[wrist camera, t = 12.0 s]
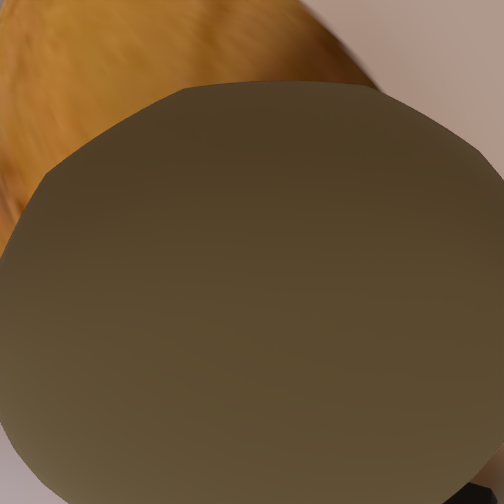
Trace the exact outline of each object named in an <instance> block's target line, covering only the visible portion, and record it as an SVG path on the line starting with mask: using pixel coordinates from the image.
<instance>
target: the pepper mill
mask: <svg viewBox="0 0 504 504" xmlns="http://www.w3.org/2000/svg"><path fill="white" fill-rule="evenodd" d="M0 422H1V425H2V426H3V429H4V431H5V432H6V434H7V436H8V438H9V440H10V442H11V444H12V446H13V448H14V449H15V450H16V452H17V453H18V455H19V456H20V457H21V458H22V460H23V461H24V462H25V463H26V465H27V466H28V467H29V468H30V469H31V471H32V472H33V473H34V474H35V475H36V476H37V478H38V479H39V480H40V481H41V482H42V483H43V484H44V485H46V486H47V487H48V488H49V489H50V490H52V491H53V492H54V493H55V494H57V495H58V496H59V497H61V498H62V499H63V500H65V501H66V502H67V503H69V504H442V503H444V502H445V501H446V500H448V499H449V498H450V497H451V496H453V495H454V494H455V493H456V492H457V491H459V490H460V489H461V488H462V487H463V486H464V485H466V484H467V483H468V482H469V481H470V480H471V479H472V478H473V477H474V476H475V475H476V474H477V473H478V472H479V471H480V469H481V468H482V467H483V466H484V465H485V464H486V463H487V462H488V461H489V459H490V458H491V457H492V456H493V455H494V453H495V452H496V451H497V449H498V448H499V447H500V446H501V445H502V443H503V442H504V180H503V179H502V178H501V176H500V175H499V174H498V173H497V172H496V170H495V169H494V168H493V167H492V165H491V164H490V163H489V162H488V161H487V160H486V158H485V157H484V156H483V155H482V154H481V153H480V152H479V151H478V150H477V149H476V148H474V147H473V146H471V145H470V144H469V143H467V142H466V141H464V140H463V139H462V138H460V137H459V136H457V135H455V134H454V133H453V132H451V131H450V130H448V129H447V128H445V127H443V126H442V125H440V124H439V123H437V122H435V121H434V120H432V119H430V118H429V117H427V116H425V115H424V114H422V113H420V112H418V111H417V110H415V109H413V108H411V107H409V106H407V105H405V104H404V103H402V102H400V101H398V100H396V99H394V98H392V97H390V96H388V95H386V94H384V93H382V92H380V91H377V90H375V89H373V88H371V87H369V86H366V85H357V84H347V83H335V82H318V81H256V82H239V83H226V84H216V85H207V86H199V87H192V88H185V89H182V90H180V91H178V92H176V93H174V94H171V95H169V96H167V97H165V98H163V99H161V100H159V101H157V102H155V103H154V104H152V105H150V106H148V107H146V108H144V109H142V110H140V111H139V112H137V113H135V114H133V115H131V116H130V117H128V118H126V119H125V120H123V121H121V122H120V123H118V124H116V125H115V126H113V127H111V128H110V129H108V130H107V131H105V132H103V133H102V134H100V135H99V136H97V137H96V138H94V139H93V140H91V141H90V142H88V143H87V144H85V145H84V146H82V147H81V148H80V149H78V150H77V151H75V152H74V153H73V154H71V155H70V156H69V157H67V158H66V159H64V160H63V161H62V162H61V163H59V164H58V165H57V166H55V167H54V168H53V169H52V170H50V171H49V172H48V173H47V174H46V175H45V176H44V178H43V179H42V181H41V183H40V184H39V186H38V187H37V189H36V191H35V192H34V194H33V196H32V197H31V199H30V201H29V203H28V204H27V206H26V208H25V210H24V212H23V213H22V215H21V217H20V219H19V221H18V223H17V225H16V227H15V229H14V231H13V233H12V235H11V237H10V239H9V241H8V243H7V246H6V248H5V250H4V252H3V255H2V257H1V259H0Z"/></svg>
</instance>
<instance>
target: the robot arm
mask: <svg viewBox="0 0 504 504" xmlns="http://www.w3.org/2000/svg"><path fill="white" fill-rule="evenodd" d="M497 502H498V501H497V499H496V497H495V495H494V493H493V491H492V490H491V489H490V488H487V487H483V486H479V485H476V484H473V483H470V482H468V483H467V484H466V485H464V486H463V487H462V488H461V489H460V490H459V491H457V492H456V493H455V494H454V495H453V496H451V497H450V498H449V499H448V500H446V501H445V502H444V503H442V504H497Z"/></svg>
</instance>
